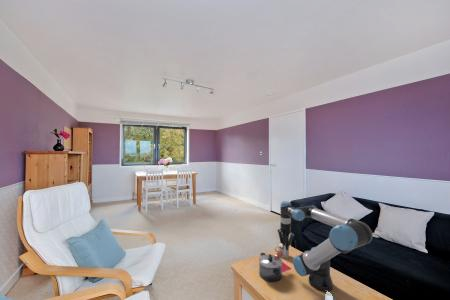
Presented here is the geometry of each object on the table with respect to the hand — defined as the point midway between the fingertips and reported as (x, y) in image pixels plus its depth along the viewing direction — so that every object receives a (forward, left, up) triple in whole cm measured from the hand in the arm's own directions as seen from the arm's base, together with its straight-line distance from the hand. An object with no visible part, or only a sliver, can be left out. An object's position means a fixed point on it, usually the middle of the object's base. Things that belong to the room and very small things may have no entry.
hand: (285, 253), depth 150 cm
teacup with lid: (+15, -19, -14) cm, 28 cm away
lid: (+6, +8, -5) cm, 11 cm away
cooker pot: (+8, +10, -14) cm, 19 cm away
